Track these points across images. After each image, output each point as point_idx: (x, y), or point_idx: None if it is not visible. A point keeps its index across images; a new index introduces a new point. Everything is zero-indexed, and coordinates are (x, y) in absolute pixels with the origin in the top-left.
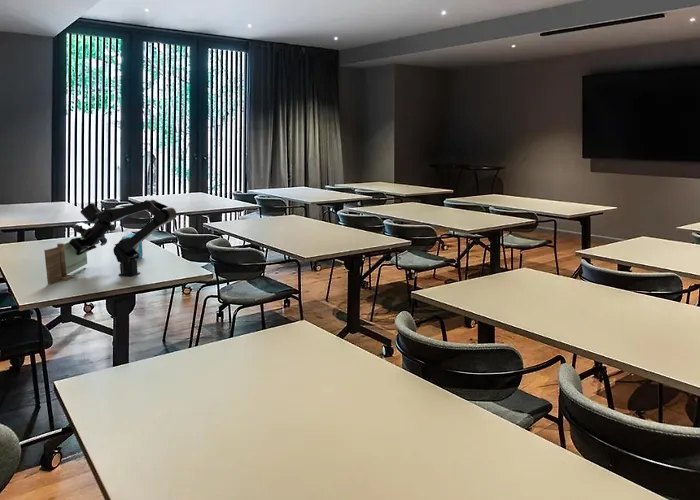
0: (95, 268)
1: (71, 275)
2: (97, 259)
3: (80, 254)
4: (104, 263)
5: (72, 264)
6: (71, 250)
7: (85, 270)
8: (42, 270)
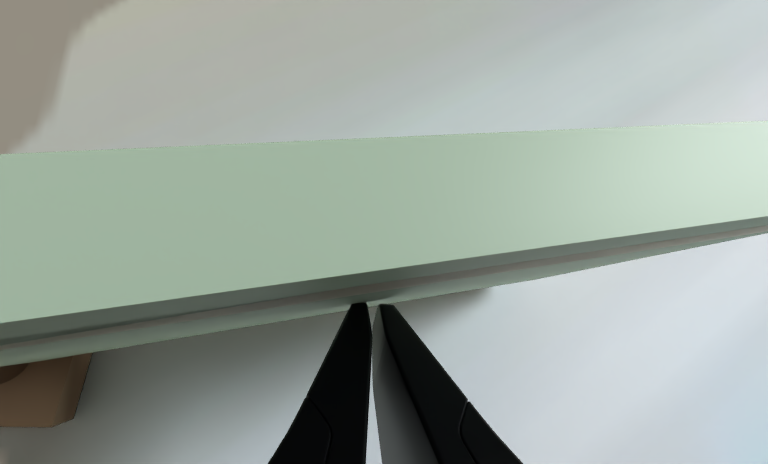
0: (484, 384)
1: (38, 418)
2: None
3: (372, 361)
4: (643, 348)
5: (201, 332)
6: (105, 337)
7: None
8: (356, 33)
